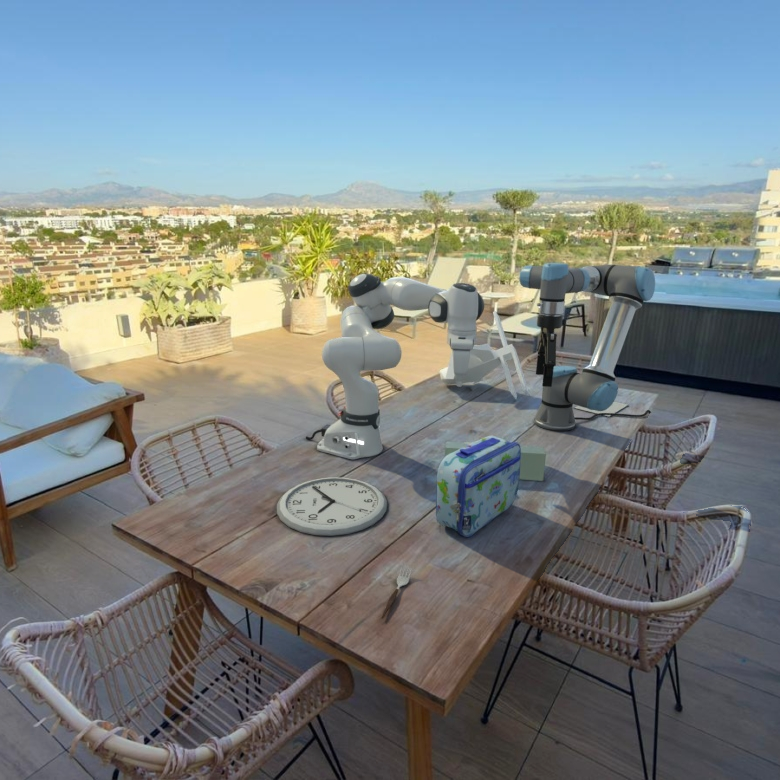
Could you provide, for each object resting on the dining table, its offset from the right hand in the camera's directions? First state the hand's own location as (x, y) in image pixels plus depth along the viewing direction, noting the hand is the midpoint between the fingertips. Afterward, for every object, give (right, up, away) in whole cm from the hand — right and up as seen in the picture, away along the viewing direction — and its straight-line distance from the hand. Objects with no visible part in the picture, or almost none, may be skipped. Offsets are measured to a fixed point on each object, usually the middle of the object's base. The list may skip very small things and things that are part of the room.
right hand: (543, 380), depth 168 cm
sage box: (-17, -29, -5) cm, 35 cm away
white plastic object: (-8, -4, +75) cm, 76 cm away
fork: (-48, -46, -60) cm, 89 cm away
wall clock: (-65, -35, -25) cm, 78 cm away
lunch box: (-26, -37, -30) cm, 55 cm away
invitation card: (+42, -10, +58) cm, 73 cm away
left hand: (-28, -1, -5) cm, 28 cm away
